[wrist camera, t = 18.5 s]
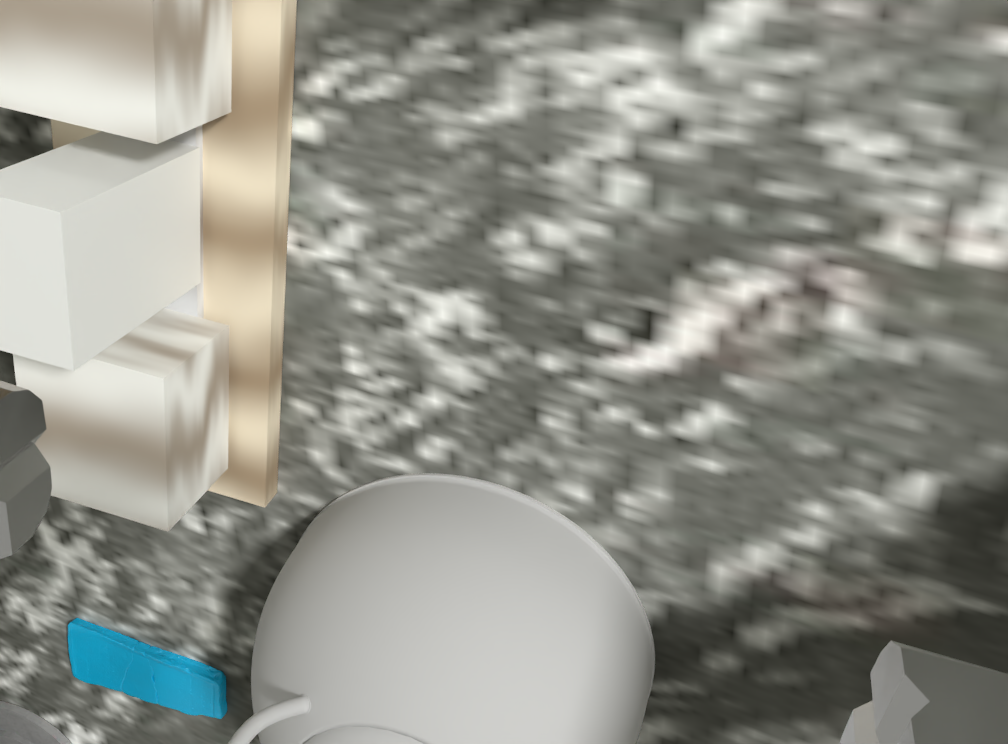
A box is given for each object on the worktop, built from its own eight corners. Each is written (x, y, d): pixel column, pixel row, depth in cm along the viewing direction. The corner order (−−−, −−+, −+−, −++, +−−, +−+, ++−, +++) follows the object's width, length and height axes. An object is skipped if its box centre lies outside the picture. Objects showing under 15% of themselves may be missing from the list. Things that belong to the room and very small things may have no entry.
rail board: (46, -212, 42) (-103, -228, 35) (303, -166, 40) (199, -173, 33) (94, 439, 58) (0, 515, 51) (276, 492, 56) (204, 580, 50)
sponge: (221, 738, 67) (220, 689, 64) (68, 679, 69) (60, 628, 65) (232, 720, 69) (232, 671, 65) (82, 662, 70) (74, 611, 67)
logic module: (199, 147, 45) (60, 212, 37) (200, 282, 49) (73, 371, 40) (112, 126, 46) (-44, 185, 37) (119, 261, 49) (-22, 343, 41)
